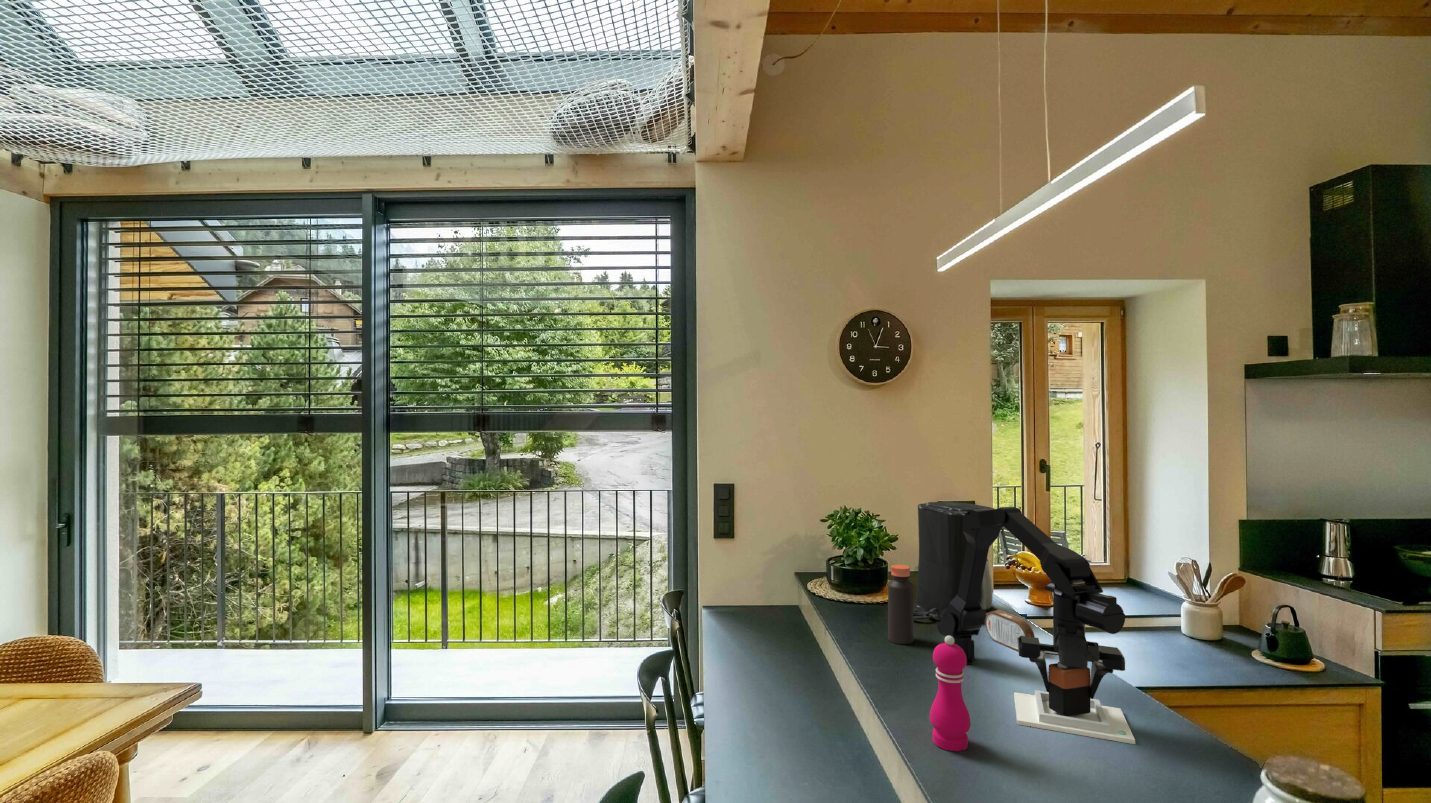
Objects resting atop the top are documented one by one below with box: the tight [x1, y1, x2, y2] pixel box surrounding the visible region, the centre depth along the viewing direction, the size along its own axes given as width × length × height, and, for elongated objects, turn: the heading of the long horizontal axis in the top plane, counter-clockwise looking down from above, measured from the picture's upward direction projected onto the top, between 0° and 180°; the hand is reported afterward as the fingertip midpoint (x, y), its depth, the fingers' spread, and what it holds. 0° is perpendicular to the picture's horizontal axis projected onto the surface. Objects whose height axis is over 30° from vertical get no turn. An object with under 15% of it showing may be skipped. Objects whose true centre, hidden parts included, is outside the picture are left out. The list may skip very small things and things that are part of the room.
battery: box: [1048, 661, 1091, 717], centre depth 131 cm, size 4×7×10 cm, turn 106°
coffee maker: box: [914, 501, 999, 622], centre depth 199 cm, size 23×32×34 cm
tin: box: [984, 609, 1036, 652], centre depth 171 cm, size 15×3×8 cm, turn 20°
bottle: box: [887, 564, 915, 645], centre depth 175 cm, size 7×7×20 cm
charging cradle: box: [1013, 689, 1136, 745], centre depth 130 cm, size 20×14×2 cm
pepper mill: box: [929, 636, 972, 752], centre depth 121 cm, size 7×7×20 cm
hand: (1069, 694), depth 131 cm, fingers closed on battery, 7 cm apart
